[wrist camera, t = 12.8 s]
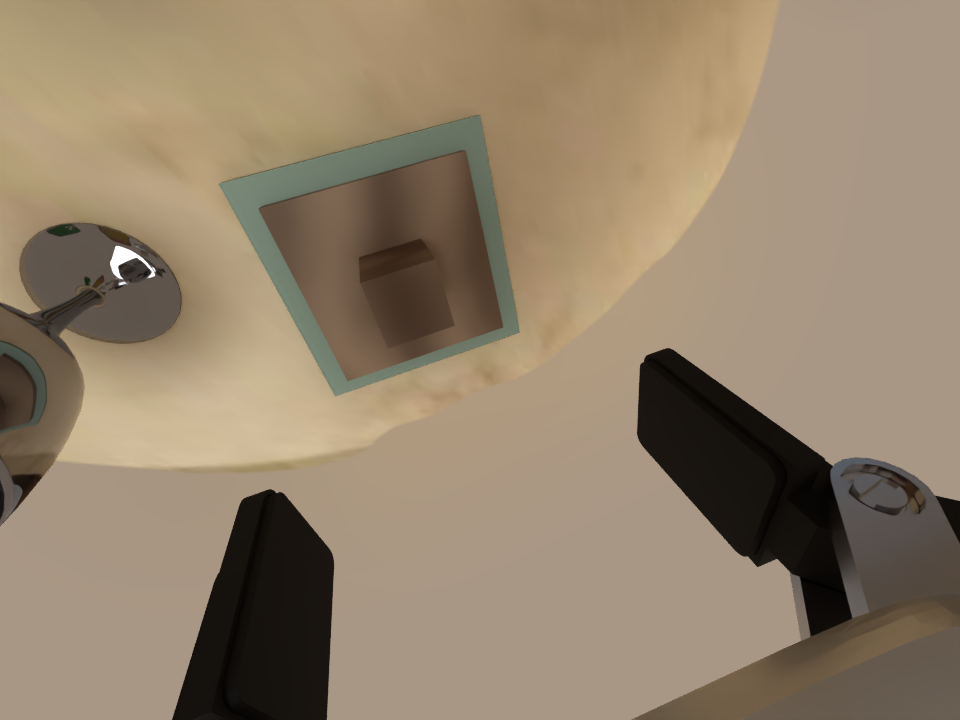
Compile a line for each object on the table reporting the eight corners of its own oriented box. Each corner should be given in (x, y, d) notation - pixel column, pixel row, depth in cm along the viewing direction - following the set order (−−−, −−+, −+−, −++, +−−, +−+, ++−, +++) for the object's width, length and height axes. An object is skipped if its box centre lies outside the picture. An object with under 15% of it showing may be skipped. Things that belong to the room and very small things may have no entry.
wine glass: (95, 368, 24) (-189, 623, 11) (-38, 248, 19) (-743, 446, 7) (219, 319, 24) (80, 508, 12) (118, 191, 20) (-271, 278, 7)
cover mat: (477, 115, 23) (480, 114, 22) (516, 329, 31) (519, 332, 31) (221, 182, 21) (218, 183, 20) (335, 391, 29) (335, 396, 29)
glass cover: (461, 150, 23) (492, 153, 18) (499, 322, 30) (529, 359, 25) (261, 206, 22) (234, 226, 17) (347, 374, 28) (346, 425, 23)
